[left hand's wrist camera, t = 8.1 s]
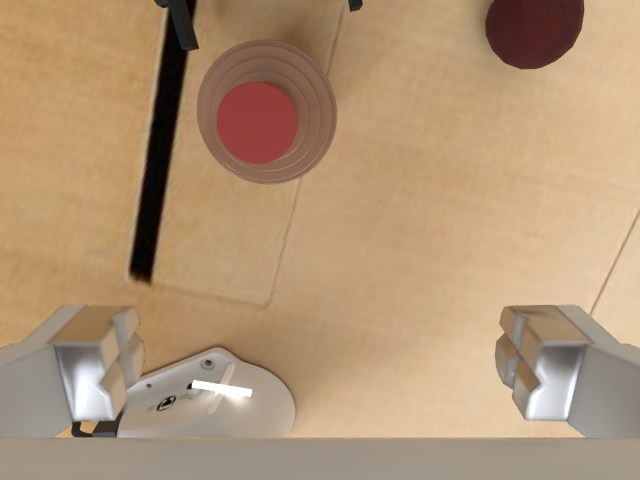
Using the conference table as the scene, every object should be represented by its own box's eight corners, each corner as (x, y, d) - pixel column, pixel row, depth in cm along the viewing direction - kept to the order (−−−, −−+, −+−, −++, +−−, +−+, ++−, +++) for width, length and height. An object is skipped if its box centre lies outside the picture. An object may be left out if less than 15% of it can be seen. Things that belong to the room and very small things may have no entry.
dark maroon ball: (552, -33, 40) (600, -55, 33) (558, 59, 42) (604, 56, 36) (469, -10, 40) (500, -27, 33) (480, 80, 43) (511, 80, 36)
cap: (313, 115, 23) (312, 119, 21) (267, 172, 24) (264, 180, 22) (253, 64, 22) (248, 63, 20) (208, 125, 23) (200, 129, 21)
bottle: (345, 95, 43) (375, 111, 21) (293, 159, 45) (272, 235, 23) (279, 36, 41) (239, -11, 20) (227, 106, 43) (140, 134, 22)
